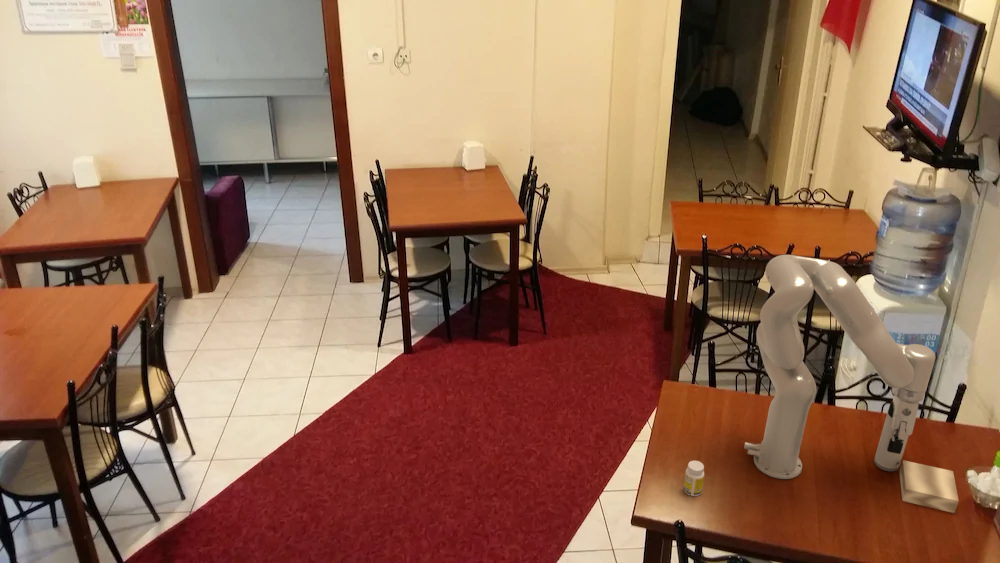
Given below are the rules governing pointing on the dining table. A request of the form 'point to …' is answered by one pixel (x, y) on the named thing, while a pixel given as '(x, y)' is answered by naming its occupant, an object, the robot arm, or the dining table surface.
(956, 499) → the plinth
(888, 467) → the travel mug
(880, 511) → the dining table surface
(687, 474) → the supplement bottle
